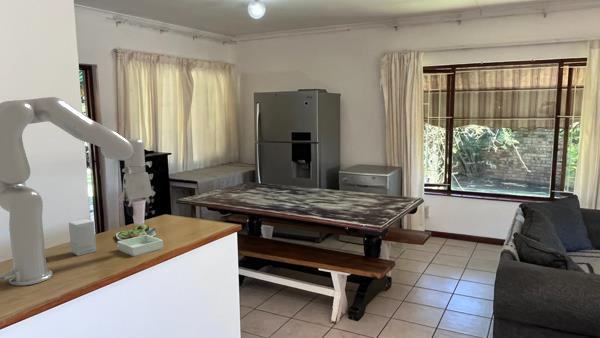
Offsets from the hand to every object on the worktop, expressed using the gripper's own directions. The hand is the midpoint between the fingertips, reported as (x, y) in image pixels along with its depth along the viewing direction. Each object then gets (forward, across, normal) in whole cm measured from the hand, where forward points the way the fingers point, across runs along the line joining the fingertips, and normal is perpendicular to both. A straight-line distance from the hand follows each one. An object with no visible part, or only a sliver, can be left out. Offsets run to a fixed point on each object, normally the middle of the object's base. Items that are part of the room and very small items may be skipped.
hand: (138, 213), depth 179 cm
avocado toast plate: (+16, +8, +19) cm, 26 cm away
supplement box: (+15, -17, +15) cm, 27 cm away
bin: (+15, 0, 0) cm, 15 cm away
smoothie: (+4, 0, 0) cm, 4 cm away
